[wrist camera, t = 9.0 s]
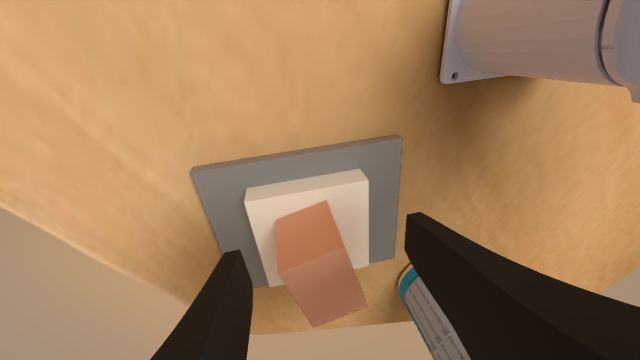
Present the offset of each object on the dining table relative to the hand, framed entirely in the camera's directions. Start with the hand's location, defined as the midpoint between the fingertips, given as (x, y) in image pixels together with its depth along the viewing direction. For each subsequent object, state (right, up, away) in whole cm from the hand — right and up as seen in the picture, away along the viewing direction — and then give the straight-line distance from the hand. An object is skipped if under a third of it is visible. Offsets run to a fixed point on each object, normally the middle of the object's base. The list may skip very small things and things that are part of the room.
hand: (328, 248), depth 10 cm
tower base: (-1, 0, +12) cm, 12 cm away
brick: (-1, -2, +9) cm, 9 cm away
